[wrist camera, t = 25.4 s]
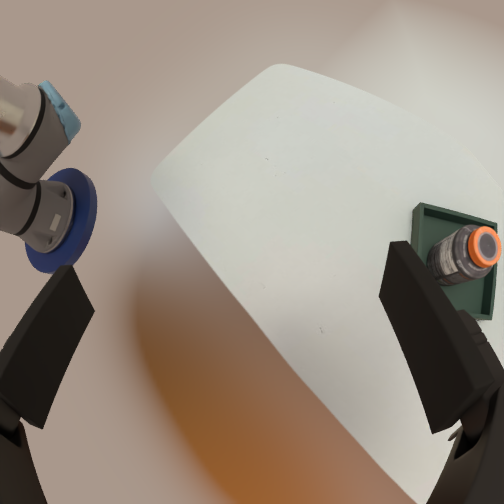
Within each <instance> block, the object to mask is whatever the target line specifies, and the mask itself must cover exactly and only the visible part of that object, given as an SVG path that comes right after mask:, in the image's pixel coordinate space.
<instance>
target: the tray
mask: <svg viewBox="0 0 504 504" xmlns="http://www.w3.org/2000/svg"><path fill="white" fill-rule="evenodd" d="M466 225H477V226H479V227H483V226H487V227H490V228H492V229H493V230H494V231H495V232H496V233H497V223H494V222H491V221H488V220H484V219H481V218H477V217H474V216H471V215H467V214H463V213H460V212H456V211H452V210H449V209H445V208H441V207H437V206H433V205H429V204H425V203H421V202H420V203H419V204H418V205H417V206H416V207H415V208H414V209H413V220H412V235H411V247H412V248H413V249H414V251H415V252H416V253H417V255H418V256H419V257H420V259H421V260H422V261H423V263H424V264H425V265H426V267H427V257H428V253H429V251H430V249H431V248H432V247H433V246H434V245H435V244H436V243H438V242H440V241H441V240H443V239H445V238H446V237H448V236H449V235H451V234H453V233H454V232H456V231H457V230H459V229H460V228H462V227H464V226H466ZM496 274H497V263H495V264H494V265H493V266H492V269H491V270H490V272H489V273H488V274H487V275H486V276H484V277H483V278H480V279H476V280H472V281H469V282H464V283H460V284H456V285H452V286H441V285H440V287H441V288H442V290H443V291H444V293H445V294H446V296H447V297H448V299H449V300H450V302H451V303H452V305H453V306H454V308H455V310H456V311H458V310H463V309H464V310H465V311H466V312H467V313H469V314H470V315H471V316H472V317H473V318H474V319H476V320H492V315H493V307H494V298H495V288H496Z"/></svg>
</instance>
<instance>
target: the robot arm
mask: <svg viewBox="0 0 504 504" xmlns="http://www.w3.org/2000/svg"><path fill="white" fill-rule="evenodd" d="M80 127H81V123H80V120H79V119H78V117H77V116H76V115H75V113H74V112H73V111H72V109H71V108H70V107H69V106H68V104H67V103H66V102H65V100H64V99H63V98H62V97H61V95H60V94H59V93H58V92H57V90H56V89H55V88H54V87H53V86H52V84H51V83H50V82H49V81H44V82H43V83H40V84H39V85H38V87H37V86H35V85H34V84H31V83H25V84H22V85H19V86H16V85H14V84H13V83H11V82H10V81H8V80H6V79H5V78H3V77H2V76H0V230H1V231H4V232H7V233H10V234H13V235H16V236H19V237H20V238H21V239H22V240H23V241H25V242H26V243H27V244H28V245H29V246H30V247H32V248H33V249H34V250H36V251H37V252H40V253H44V254H50V253H53V252H55V251H56V250H58V249H59V248H60V247H61V246H62V244H63V243H64V242H65V240H66V239H67V237H68V235H69V233H70V231H71V228H72V226H73V223H74V219H75V214H76V197H75V194H74V191H73V190H72V188H71V187H70V186H68V185H66V184H65V183H63V182H59V181H47V180H39V179H40V178H41V177H42V176H43V174H44V173H45V172H46V171H47V169H48V168H49V167H50V165H51V164H52V163H53V162H54V160H56V158H57V157H58V156H59V155H60V154H61V153H62V151H63V150H64V149H65V148H66V147H67V146H68V145H69V144H70V142H71V140H72V139H73V138H74V136H75V135H76V134H77V133H78V132H79V130H80ZM379 298H380V300H381V302H382V305H383V307H384V309H385V311H386V313H387V316H388V318H389V320H390V322H391V325H392V327H393V329H394V332H395V334H396V336H397V339H398V341H399V343H400V346H401V348H402V351H403V353H404V356H405V358H406V361H407V363H408V366H409V368H410V371H411V374H412V376H413V379H414V382H415V385H416V387H417V390H418V393H419V396H420V399H421V401H422V404H423V407H424V410H425V413H426V416H427V420H428V423H429V426H430V429H431V432H432V434H434V433H437V432H440V431H442V430H445V429H448V428H450V427H452V426H453V425H454V424H455V423H456V422H457V421H458V420H459V419H460V421H461V424H462V426H461V427H459V428H458V429H457V430H456V431H455V432H454V433H453V434H452V435H451V436H450V437H449V439H448V441H451V440H452V439H454V438H455V437H456V439H455V441H454V444H453V447H452V449H451V452H450V454H449V457H448V459H447V462H446V464H445V466H444V469H443V471H442V473H441V475H440V477H439V480H438V482H437V484H436V486H435V488H434V490H433V492H432V494H431V496H430V498H429V499H428V501H427V503H426V504H504V369H503V367H502V365H501V363H500V361H499V359H498V358H497V356H496V354H495V352H494V350H493V349H492V347H491V345H490V343H489V342H487V338H486V336H485V335H484V333H482V332H481V331H482V330H481V328H480V327H479V325H478V323H477V322H476V320H475V319H474V318H473V317H472V316H471V315H470V314H469V313H467V312H466V311H465V310H464V309H463V310H458V311H456V310H455V308H454V306H453V305H452V303H451V302H450V300H449V299H448V297H447V296H446V294H445V293H444V291H443V290H442V288H441V287H440V285H439V284H438V282H437V281H436V279H435V278H434V277H433V275H432V274H431V272H430V271H429V270H428V268H427V267H426V265H425V264H424V263H423V261H422V260H421V259H420V257H419V256H418V255H417V253H416V252H415V251H414V249H413V248H412V247H411V245H410V244H409V243H408V242H407V241H395V242H390V245H389V251H388V256H387V261H386V266H385V271H384V275H383V280H382V284H381V289H380V293H379ZM94 312H95V310H94V308H93V307H92V305H91V303H90V301H89V299H88V297H87V295H86V293H85V291H84V289H83V287H82V285H81V283H80V281H79V279H78V276H77V275H76V272H75V270H74V268H73V266H72V265H60V266H59V268H58V269H57V270H56V271H55V273H54V274H53V275H52V277H51V278H50V279H49V281H48V282H47V283H46V285H45V286H44V287H43V289H42V290H41V291H40V293H39V294H38V296H37V297H36V298H35V300H34V301H33V303H32V304H31V306H30V307H29V308H28V310H27V311H26V313H25V314H24V316H23V317H22V319H21V321H20V322H19V323H18V325H17V327H16V328H15V330H14V331H13V333H12V334H11V336H10V337H9V338H8V339H7V341H6V343H5V345H4V346H3V349H2V350H1V352H0V504H47V501H46V499H45V496H44V493H43V491H42V489H41V485H40V483H39V480H38V476H37V473H36V470H35V467H34V464H33V461H32V457H31V453H30V450H29V446H28V442H27V438H26V433H25V429H24V426H23V424H22V423H21V422H20V421H19V420H20V418H21V417H22V418H23V419H24V420H26V421H27V422H28V423H29V424H30V425H33V426H35V427H38V428H40V429H43V427H44V425H45V422H46V419H47V416H48V414H49V411H50V408H51V405H52V403H53V401H54V398H55V396H56V393H57V391H58V388H59V385H60V383H61V381H62V379H63V376H64V374H65V372H66V370H67V367H68V365H69V363H70V361H71V358H72V356H73V354H74V352H75V350H76V348H77V346H78V343H79V342H80V339H81V337H82V335H83V333H84V331H85V329H86V327H87V325H88V323H89V322H90V320H91V318H92V316H93V314H94Z"/></svg>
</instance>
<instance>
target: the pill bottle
mask: <svg viewBox="0 0 504 504" xmlns="http://www.w3.org/2000/svg"><path fill="white" fill-rule="evenodd" d="M500 256H501V242H500V239H499V237H498V235H497V233H496V232H495V231H494V230H493V229H492V228H490V227H487V226H483V227H479V226H477V225H466V226H464V227H462V228H460V229H459V230H457V231H456V232H454V233H453V234H451V235H449V236H448V237H446V238H445V239H443V240H441V241H440V242H438V243H436V244H435V245H434V246H433V247H432V248H431V249H430V251H429V253H428V257H427V268H428V270H429V271H430V272H431V274H432V275H433V277H434V278H435V279H436V281H437V282H438V284H439V285H441V286H452V285H456V284H460V283H464V282H469V281H472V280H476V279H480V278H483V277H484V276H486V275H487V274H488V273H489V272H490V270H491V269H492V266H493V265H494V264H495V263H497V261H498V260H499V258H500Z"/></svg>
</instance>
